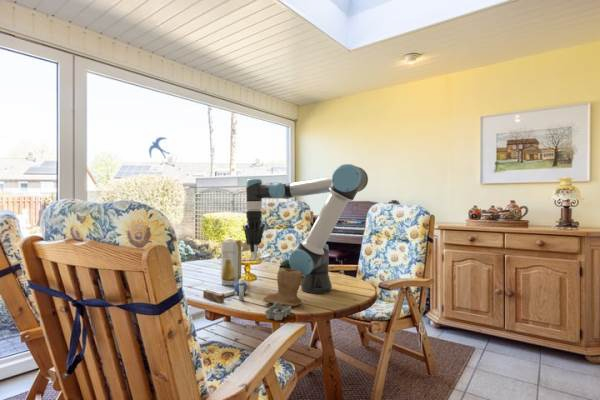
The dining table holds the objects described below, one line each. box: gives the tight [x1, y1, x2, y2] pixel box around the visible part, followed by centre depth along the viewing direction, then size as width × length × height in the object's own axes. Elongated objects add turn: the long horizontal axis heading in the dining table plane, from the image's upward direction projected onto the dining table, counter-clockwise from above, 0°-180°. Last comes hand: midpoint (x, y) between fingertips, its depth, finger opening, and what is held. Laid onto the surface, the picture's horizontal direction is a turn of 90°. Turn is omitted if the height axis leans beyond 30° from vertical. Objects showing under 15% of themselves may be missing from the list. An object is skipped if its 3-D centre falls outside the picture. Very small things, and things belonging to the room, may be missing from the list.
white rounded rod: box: [238, 278, 245, 302], centre depth 145 cm, size 2×2×9 cm
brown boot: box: [262, 268, 303, 307], centre depth 141 cm, size 15×12×15 cm
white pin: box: [220, 289, 236, 298], centre depth 151 cm, size 2×2×9 cm
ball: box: [233, 281, 248, 294], centre depth 156 cm, size 6×6×6 cm
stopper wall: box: [202, 289, 225, 304], centre depth 146 cm, size 12×2×3 cm, turn 50°
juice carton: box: [220, 237, 242, 286], centre depth 173 cm, size 9×8×24 cm
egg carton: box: [264, 301, 293, 321], centre depth 127 cm, size 11×8×4 cm
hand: (254, 258), depth 164 cm, fingers closed
